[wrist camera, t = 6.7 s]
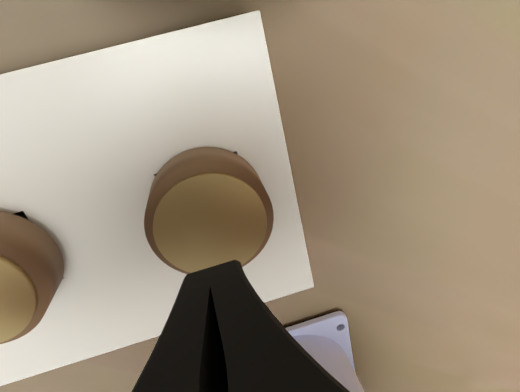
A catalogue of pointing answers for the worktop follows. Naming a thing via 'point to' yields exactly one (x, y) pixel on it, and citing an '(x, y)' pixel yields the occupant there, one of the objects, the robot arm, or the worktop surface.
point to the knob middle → (26, 274)
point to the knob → (207, 211)
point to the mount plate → (136, 177)
